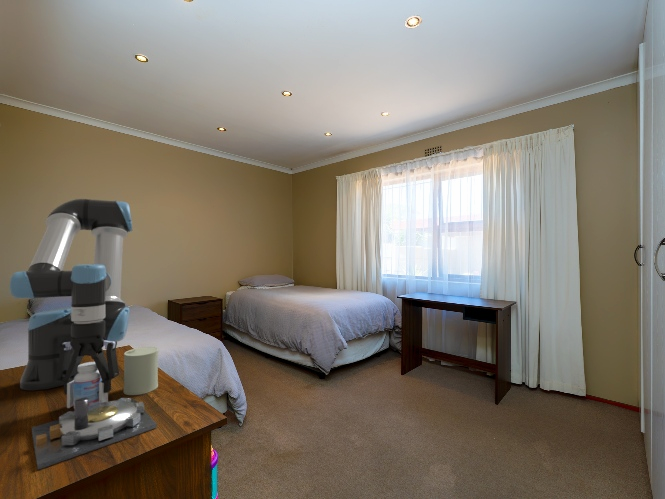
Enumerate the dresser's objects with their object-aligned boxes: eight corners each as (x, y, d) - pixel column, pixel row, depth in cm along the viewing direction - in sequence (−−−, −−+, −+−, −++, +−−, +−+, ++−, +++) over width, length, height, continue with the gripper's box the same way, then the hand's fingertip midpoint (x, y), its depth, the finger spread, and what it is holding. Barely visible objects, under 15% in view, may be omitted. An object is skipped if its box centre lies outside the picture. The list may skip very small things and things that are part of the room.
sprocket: (26, 443, 68) (26, 406, 68) (93, 404, 86) (93, 374, 86) (108, 446, 67) (109, 408, 68) (158, 405, 85) (159, 376, 86)
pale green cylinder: (127, 385, 102) (127, 347, 102) (160, 381, 105) (160, 344, 105) (119, 397, 93) (120, 355, 93) (155, 392, 96) (156, 352, 97)
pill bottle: (86, 412, 84) (86, 369, 85) (67, 409, 86) (68, 367, 86) (107, 401, 90) (107, 361, 91) (89, 399, 92) (89, 360, 92)
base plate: (31, 431, 75) (31, 422, 75) (134, 401, 90) (134, 394, 90) (37, 470, 62) (37, 458, 62) (156, 427, 77) (156, 418, 77)
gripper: (37, 324, 84) (36, 413, 83) (120, 323, 86) (119, 409, 85) (59, 318, 91) (58, 400, 91) (134, 317, 93) (134, 397, 93)
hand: (87, 404), depth 88 cm, fingers open, 7 cm apart
